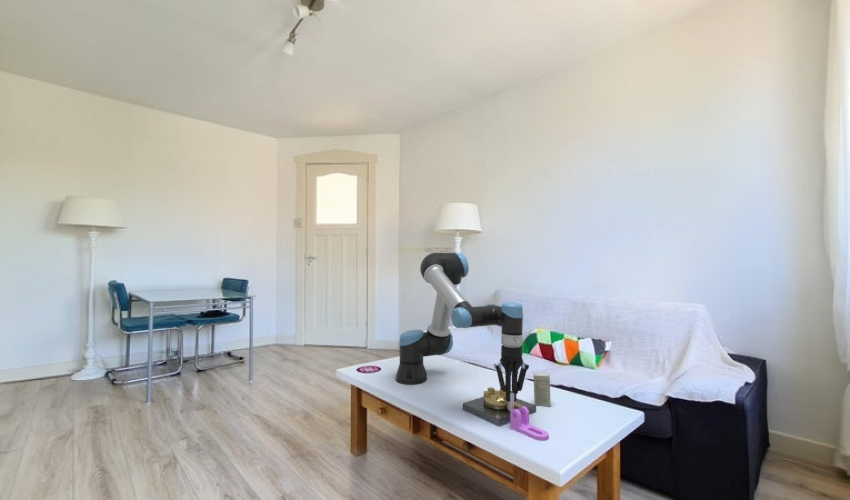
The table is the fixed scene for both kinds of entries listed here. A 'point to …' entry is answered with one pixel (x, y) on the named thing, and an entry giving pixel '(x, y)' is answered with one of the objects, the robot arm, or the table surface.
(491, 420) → the base plate
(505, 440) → the table surface
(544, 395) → the skincare box
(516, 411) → the bracket
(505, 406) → the brass notched disc handle
